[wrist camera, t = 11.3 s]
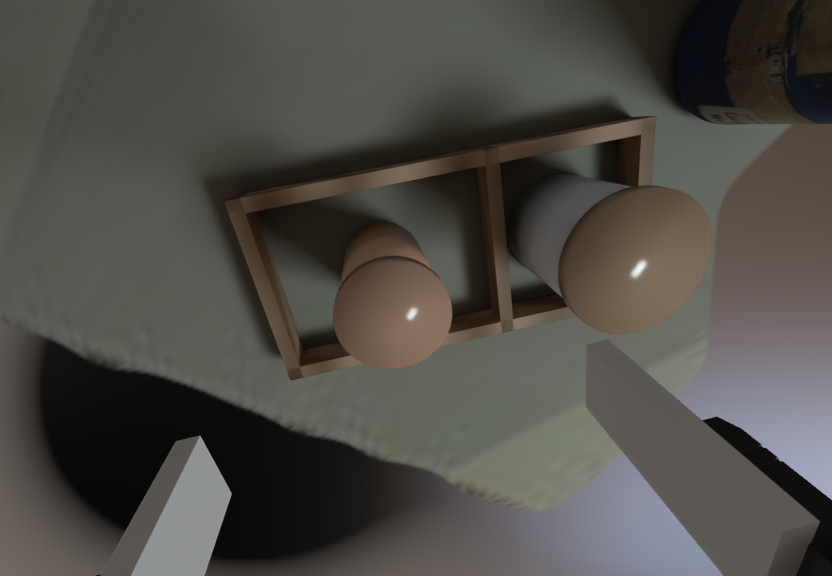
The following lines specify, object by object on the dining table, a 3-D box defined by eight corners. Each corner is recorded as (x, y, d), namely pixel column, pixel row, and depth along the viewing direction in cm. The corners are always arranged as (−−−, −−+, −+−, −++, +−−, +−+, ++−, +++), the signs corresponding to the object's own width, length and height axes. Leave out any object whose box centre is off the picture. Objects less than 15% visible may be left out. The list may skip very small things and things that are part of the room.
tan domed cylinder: (352, 306, 31) (349, 379, 22) (332, 229, 28) (318, 276, 19) (430, 289, 31) (459, 355, 22) (416, 212, 29) (443, 250, 20)
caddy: (295, 362, 32) (290, 380, 30) (235, 195, 27) (223, 201, 24) (624, 289, 34) (643, 300, 31) (632, 117, 28) (656, 116, 26)
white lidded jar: (508, 285, 32) (567, 348, 23) (499, 181, 29) (564, 205, 20) (606, 264, 33) (702, 317, 23) (608, 159, 29) (722, 172, 20)
